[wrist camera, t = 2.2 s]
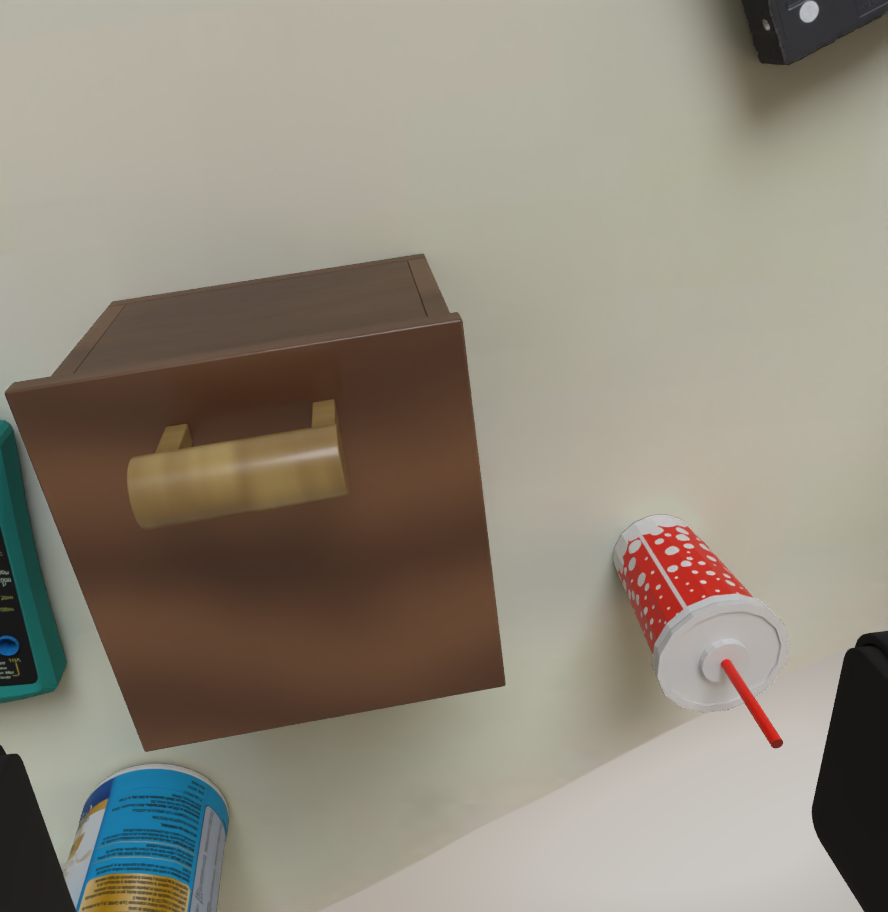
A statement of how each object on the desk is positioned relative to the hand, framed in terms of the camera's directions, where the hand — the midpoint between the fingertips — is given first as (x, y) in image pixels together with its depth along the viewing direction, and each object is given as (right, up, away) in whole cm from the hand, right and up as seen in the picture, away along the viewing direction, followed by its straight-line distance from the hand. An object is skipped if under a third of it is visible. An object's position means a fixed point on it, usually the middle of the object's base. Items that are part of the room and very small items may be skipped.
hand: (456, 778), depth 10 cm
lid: (-5, +1, +19) cm, 20 cm away
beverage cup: (+11, -1, +36) cm, 38 cm away
